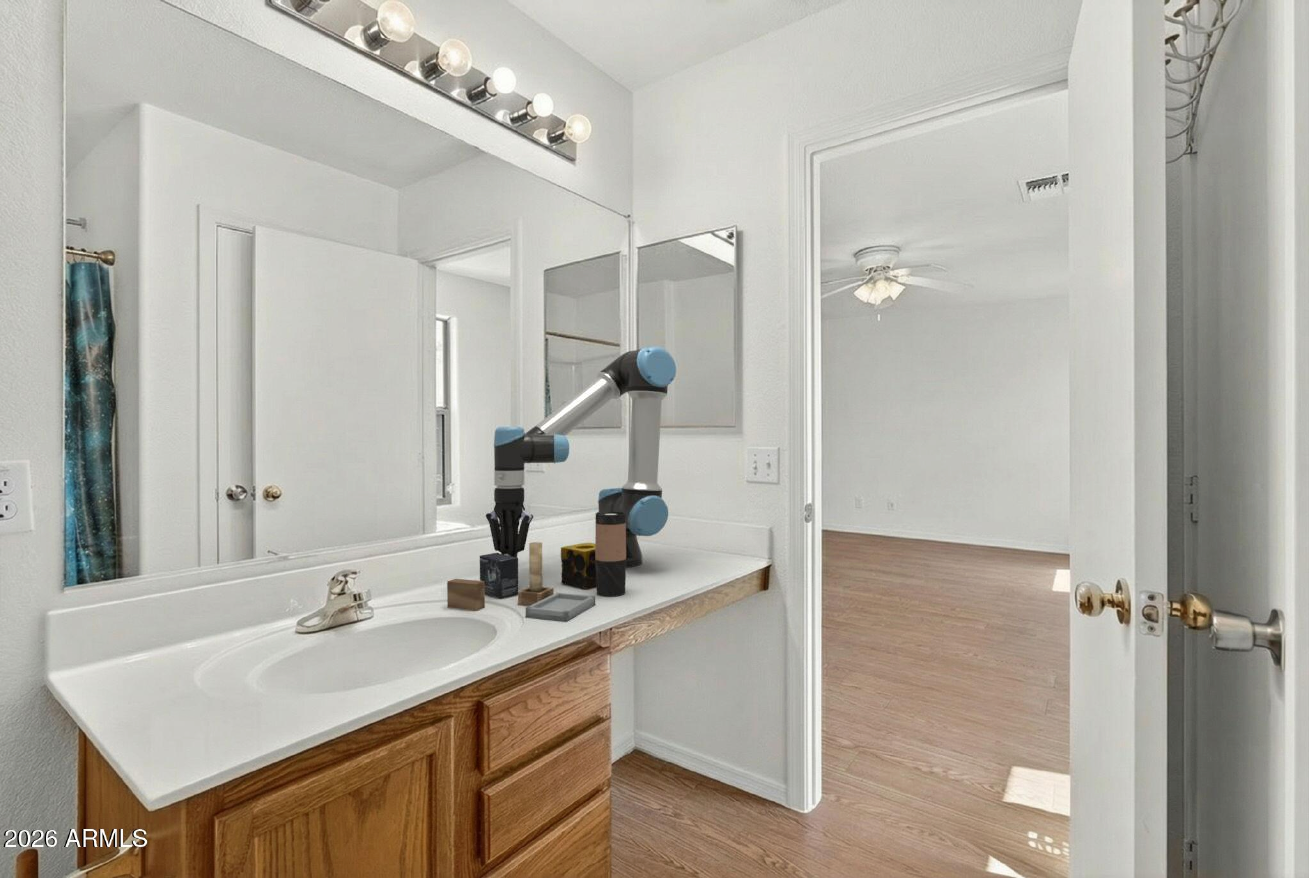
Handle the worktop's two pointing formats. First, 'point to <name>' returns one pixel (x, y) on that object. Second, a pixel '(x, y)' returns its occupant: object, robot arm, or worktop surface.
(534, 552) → the dowel
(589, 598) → the tray
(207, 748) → the worktop surface
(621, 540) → the travel mug
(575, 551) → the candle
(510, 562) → the box
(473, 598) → the wooden block
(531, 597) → the socket
